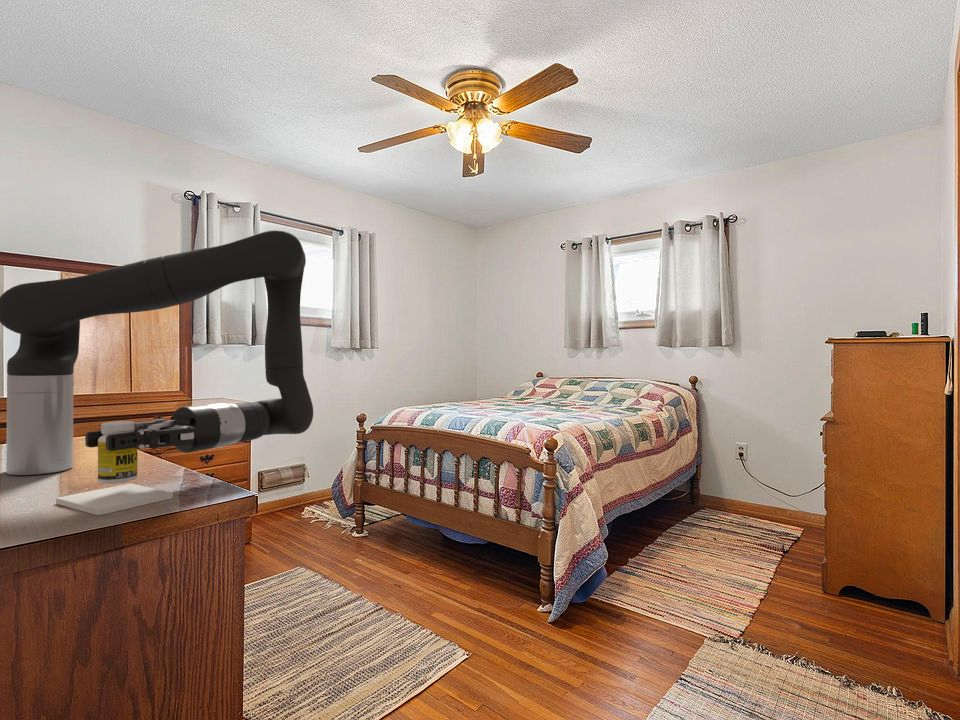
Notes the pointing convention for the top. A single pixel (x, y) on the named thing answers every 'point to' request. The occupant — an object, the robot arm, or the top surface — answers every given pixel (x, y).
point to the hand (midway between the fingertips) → (97, 441)
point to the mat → (113, 498)
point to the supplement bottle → (116, 455)
